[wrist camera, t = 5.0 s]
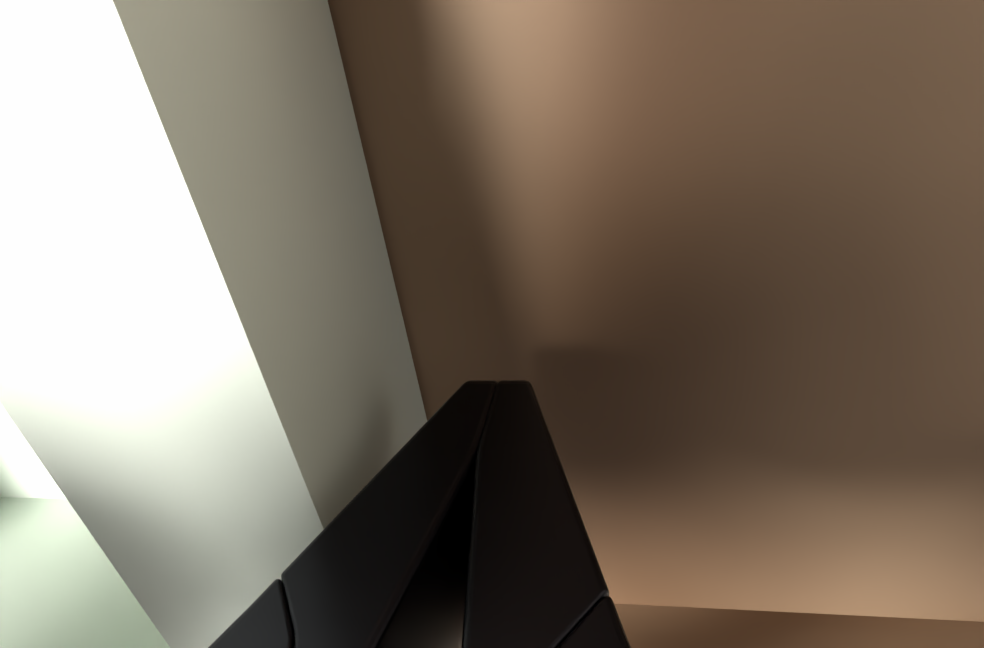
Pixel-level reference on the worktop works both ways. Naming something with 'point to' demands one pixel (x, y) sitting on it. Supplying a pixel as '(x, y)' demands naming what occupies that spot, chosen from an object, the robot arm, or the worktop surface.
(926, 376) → the rail base
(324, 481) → the socket block
